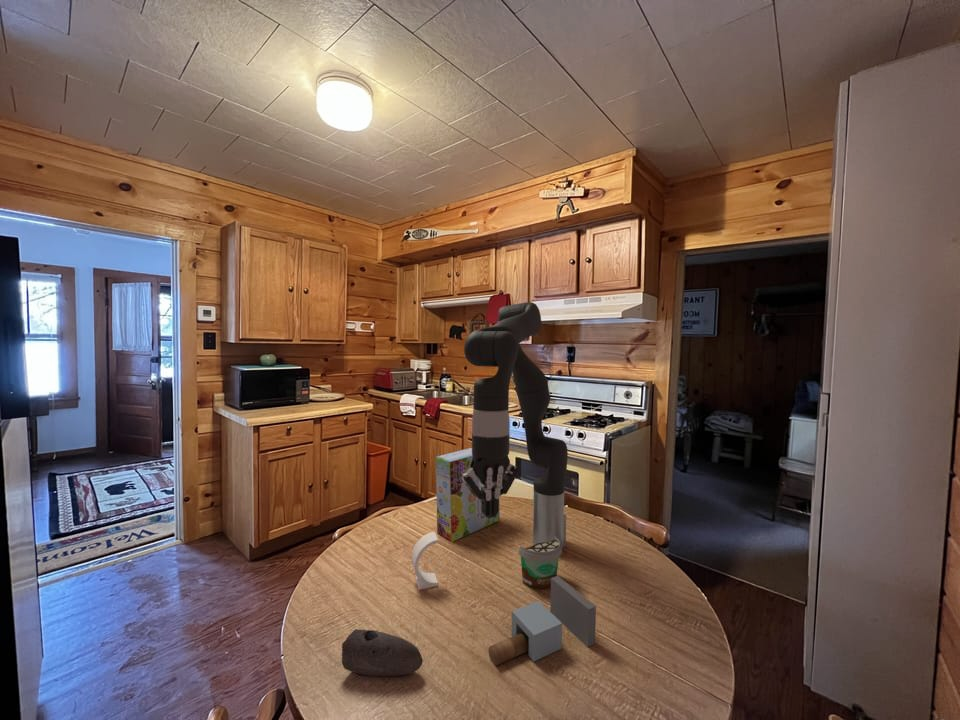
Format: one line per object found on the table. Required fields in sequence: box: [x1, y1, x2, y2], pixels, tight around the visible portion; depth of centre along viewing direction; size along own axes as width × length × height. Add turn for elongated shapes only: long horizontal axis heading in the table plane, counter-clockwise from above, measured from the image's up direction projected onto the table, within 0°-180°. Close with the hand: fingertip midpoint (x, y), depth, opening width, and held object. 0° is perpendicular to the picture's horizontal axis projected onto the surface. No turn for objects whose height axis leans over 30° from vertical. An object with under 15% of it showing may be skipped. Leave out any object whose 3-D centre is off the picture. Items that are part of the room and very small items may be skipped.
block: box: [511, 600, 563, 662], centre depth 82 cm, size 7×8×5 cm
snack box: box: [435, 447, 501, 543], centre depth 132 cm, size 22×9×26 cm, turn 133°
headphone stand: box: [411, 531, 439, 591], centre depth 101 cm, size 5×6×12 cm
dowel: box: [488, 632, 529, 667], centre depth 78 cm, size 8×3×3 cm, turn 119°
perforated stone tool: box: [341, 629, 424, 677], centre depth 74 cm, size 15×5×7 cm, turn 82°
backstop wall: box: [549, 575, 597, 648], centre depth 86 cm, size 2×12×8 cm, turn 29°
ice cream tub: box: [518, 536, 563, 591], centre depth 101 cm, size 12×6×10 cm, turn 117°
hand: (489, 516), depth 80 cm, fingers closed
